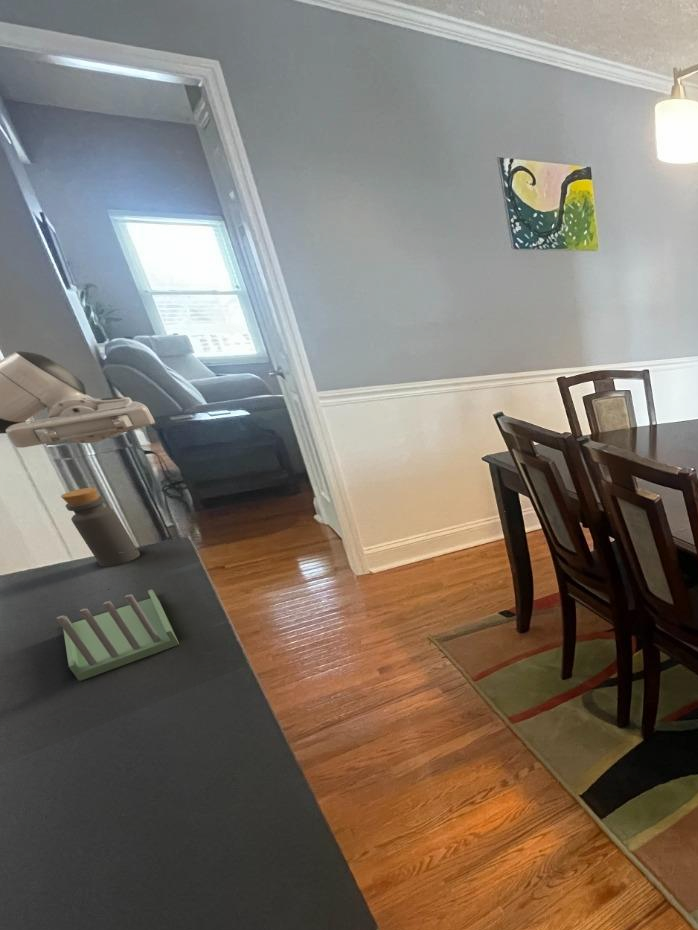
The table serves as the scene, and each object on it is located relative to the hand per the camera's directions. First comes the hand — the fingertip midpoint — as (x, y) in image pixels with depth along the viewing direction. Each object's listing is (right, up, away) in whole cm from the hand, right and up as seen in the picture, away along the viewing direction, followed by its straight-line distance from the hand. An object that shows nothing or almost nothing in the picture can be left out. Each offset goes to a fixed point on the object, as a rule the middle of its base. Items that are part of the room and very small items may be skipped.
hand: (86, 430), depth 114 cm
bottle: (+3, -26, +3) cm, 26 cm away
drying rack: (+29, -37, -21) cm, 51 cm away
